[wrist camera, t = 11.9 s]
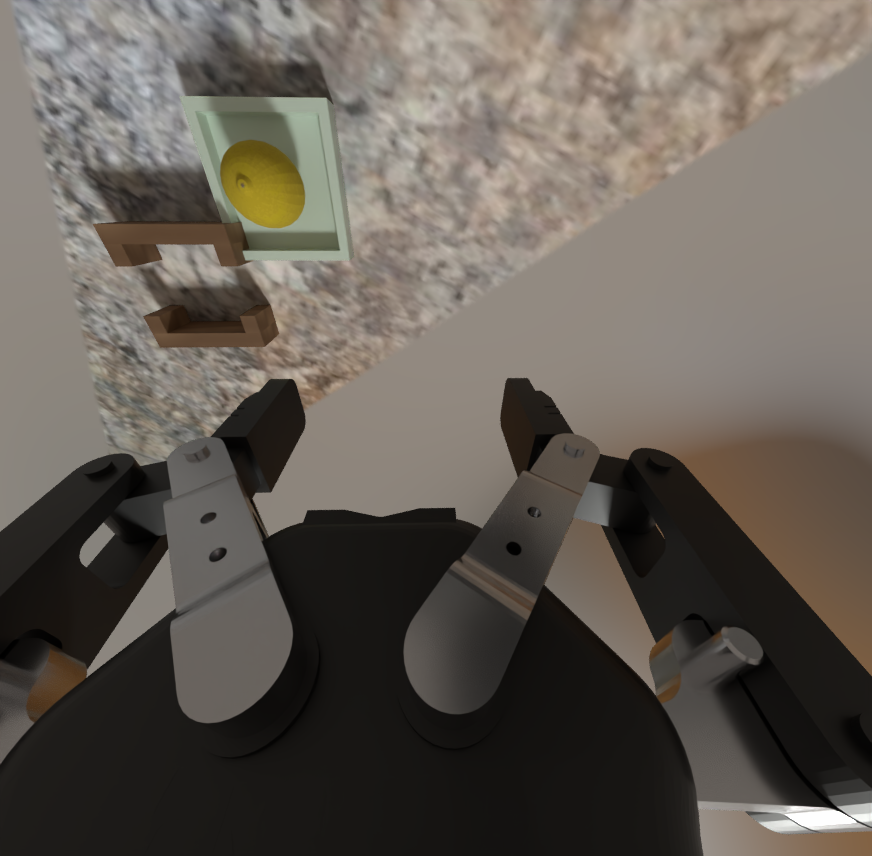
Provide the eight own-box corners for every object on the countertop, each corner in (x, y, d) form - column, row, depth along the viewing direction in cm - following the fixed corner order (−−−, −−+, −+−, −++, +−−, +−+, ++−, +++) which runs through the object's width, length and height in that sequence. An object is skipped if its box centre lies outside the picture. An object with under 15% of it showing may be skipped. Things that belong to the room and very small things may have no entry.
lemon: (307, 237, 30) (274, 247, 24) (247, 203, 29) (194, 204, 22) (324, 172, 27) (292, 164, 21) (258, 131, 26) (201, 108, 19)
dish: (197, 103, 25) (179, 96, 23) (333, 105, 25) (326, 98, 24) (246, 256, 32) (234, 260, 30) (354, 256, 32) (349, 260, 30)
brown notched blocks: (128, 221, 30) (92, 224, 26) (245, 221, 30) (223, 224, 27) (183, 334, 36) (160, 347, 33) (279, 333, 36) (265, 346, 33)
